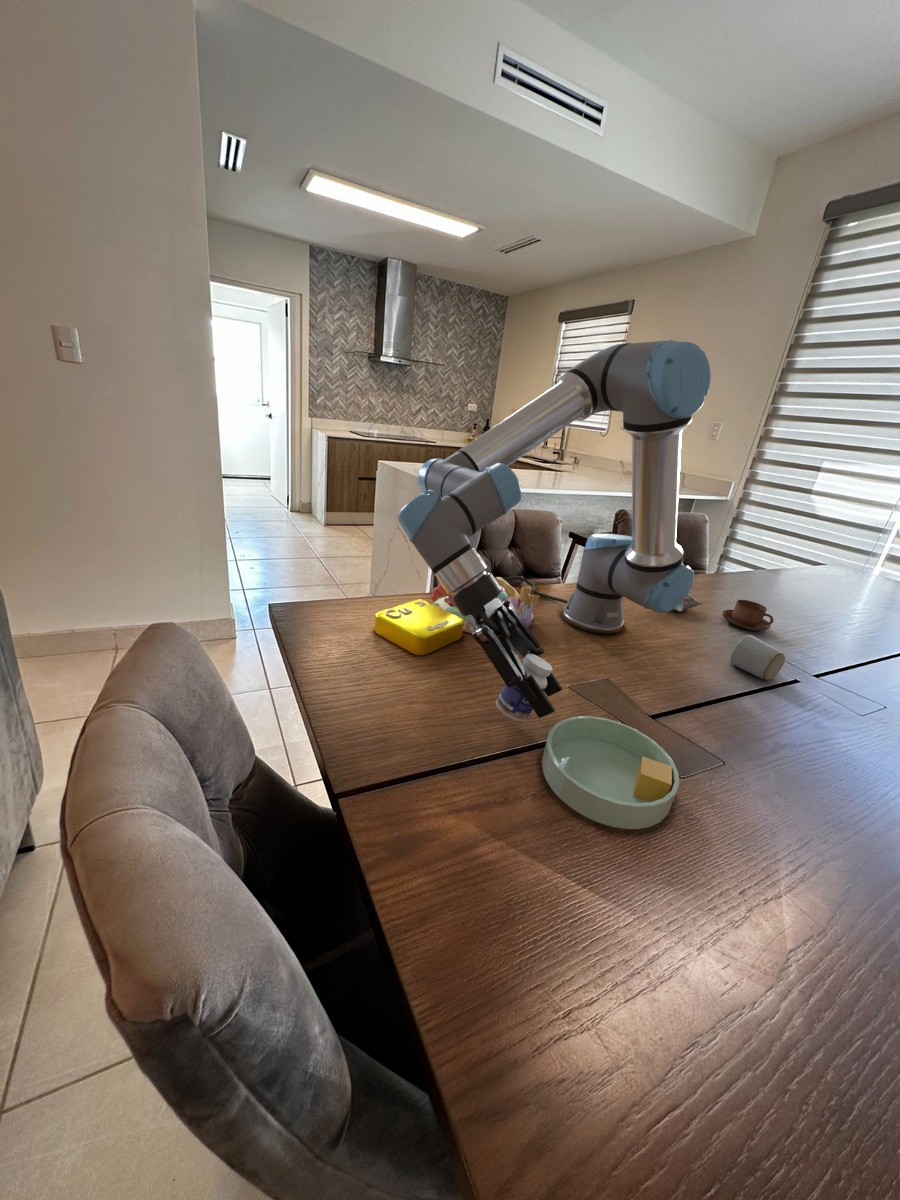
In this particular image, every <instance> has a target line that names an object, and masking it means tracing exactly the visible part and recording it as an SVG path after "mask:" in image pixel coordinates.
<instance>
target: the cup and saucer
mask: <svg viewBox="0 0 900 1200" xmlns="http://www.w3.org/2000/svg"><path fill="white" fill-rule="evenodd" d="M767 609H768V608H767V607H766V606H765V605H763V604H761V603H758V602H755V601H752V600H748V599H737V600H736V603H735V605H734V608H733V609H725V610H723V611H722V617H723V618H724V619H725V620H726V621H727V622H728V623H730V624H732V625H733V626H735V627H738V628H741V629H744V630H749V631H756V632H763V631H766V630H770V628H771V627H772V624H773V623H774V617H773V616H772V615H771V614H769V613H767ZM765 617H767V618H769V620H770V621H768V620H766V619H765Z"/></svg>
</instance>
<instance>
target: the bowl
mask: <svg viewBox="0 0 900 1200" xmlns="http://www.w3.org/2000/svg"><path fill="white" fill-rule="evenodd" d="M546 737H547V738H546V743H545V745H544V750H543V754H542V759H541V767H542V773H543V775H544V778H545V781H546V782H547V784H548V786H549V787H550V788H551V790H552V792H553V793H554V794H555V795H556V796H557V797H558V798H559V799H560V800H561V801H562V802H563V803H564V804H566V805H567V806H568V807H569V808H571V809H572V810H573V811H575V812H577V813H579V814H580V815H581V816H583V817H586V818H587V819H589V820H591V821H594V822H595V823H599V824H601V825H605V826H607V827H612V828H617V829H624V830H642V829H646V828H650V827H653V826H655V825H658V824H660V823H661V822H662V821H663V820H664V819H665V818H666V817H667V816H668V815H669V812H670V810H671V807H672V804H673V802H674V799H675V797H676V795H677V793H678V789H679V787H680V776H679V770H678V769H677V766H676V764H675V762H674V761H673V759H672V757H671V756H670V755H669V754H668V753H667V752H666V750H665V749H664V748H663V747H662V746H661V745H659V744H658V743H657V742H655V741H654V740H653V739H652V738H651V737H650V736H647V735H646V734H644V733H643V732H641V731H639V730H638V729H636V728H634V727H633V726H632V727H631V726H629V725H627V724H625V723H622V722H620V721H616V720H613V719H609V718H606V717H599V716H593V715H577V716H572V717H568V718H564V719H562V720H561V721H558V722H556V723H555V724H554V725H553V726H552V728H550V729H549V731H548V734H547V736H546ZM642 756H643V757H646V758H648V759H651V760H654V761H657V762H660V763H663V764H666V765H668V766H671V767H672V786H671V788H670V791H669V793H668V794H667V795H666V796H665V797H664V798H662V799H659V800H656V801H653V802H649V801H646V800H644V799H641V798H638V797H636V796H633V792H634V783H635V776H636V773H637V770H638V768H639V765H640V762H641V759H642Z"/></svg>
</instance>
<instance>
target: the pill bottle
mask: <svg viewBox="0 0 900 1200" xmlns="http://www.w3.org/2000/svg"><path fill="white" fill-rule="evenodd" d="M522 661H523V662H522V665H523V667H524V669H525V670H526V672H527V674H528V676H530V675H532V676H533V678H534V679H535V681H536V682H537V684H538V685H539V687H540V688H541V690H542V691H543V692H544V690H545V688H546V686H547V680H546V677H547V676H549V675H550V673H551V672H553V666H552V665H551V664H550V663H549V662H547V661H546V660H545V659H543V658H542V657H541V658H540V657H538V656H536V655H534V654H527V655H526V656H525V658H524V657H523V659H522ZM495 704H496V707H497V709H498V710H499V712H500V713H502V714H503V715H504V716H506V717H507V718H509V719H510V720H513V721H516V722H519V723H520V722H525V721H527V720H528V718H529V716H530V715H531V713H532V712H533V711H534V710H533V708H532V707H531V705H530V704H529V702H528V701H527V699H526V698H525V696H524V695H523V694H522V692H521V691H520V689H519V688H518V686H517V685H515V686H513V687H510V688H509V687H507V685H506V684H505V685H504V686H503V688H502V690H501V691H500V694H499V695H498V697H497V699H496V701H495Z"/></svg>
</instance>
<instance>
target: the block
mask: <svg viewBox="0 0 900 1200" xmlns="http://www.w3.org/2000/svg"><path fill="white" fill-rule="evenodd" d="M671 786H672V767H671V766H668V765H666V764H663V763H660V762H657V761H654V760H651V759H648V758H646V757H643V756H642V759H641V762H640V765H639V768H638V770H637V773H636V776H635V783H634V792H633V796H636V797H638V798H641V799H644V800H646V801H649V802H653V801H656V800H659V799H662V798H664V797H665V796H666V795H667V794H668V793H669V791H670V788H671Z"/></svg>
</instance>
